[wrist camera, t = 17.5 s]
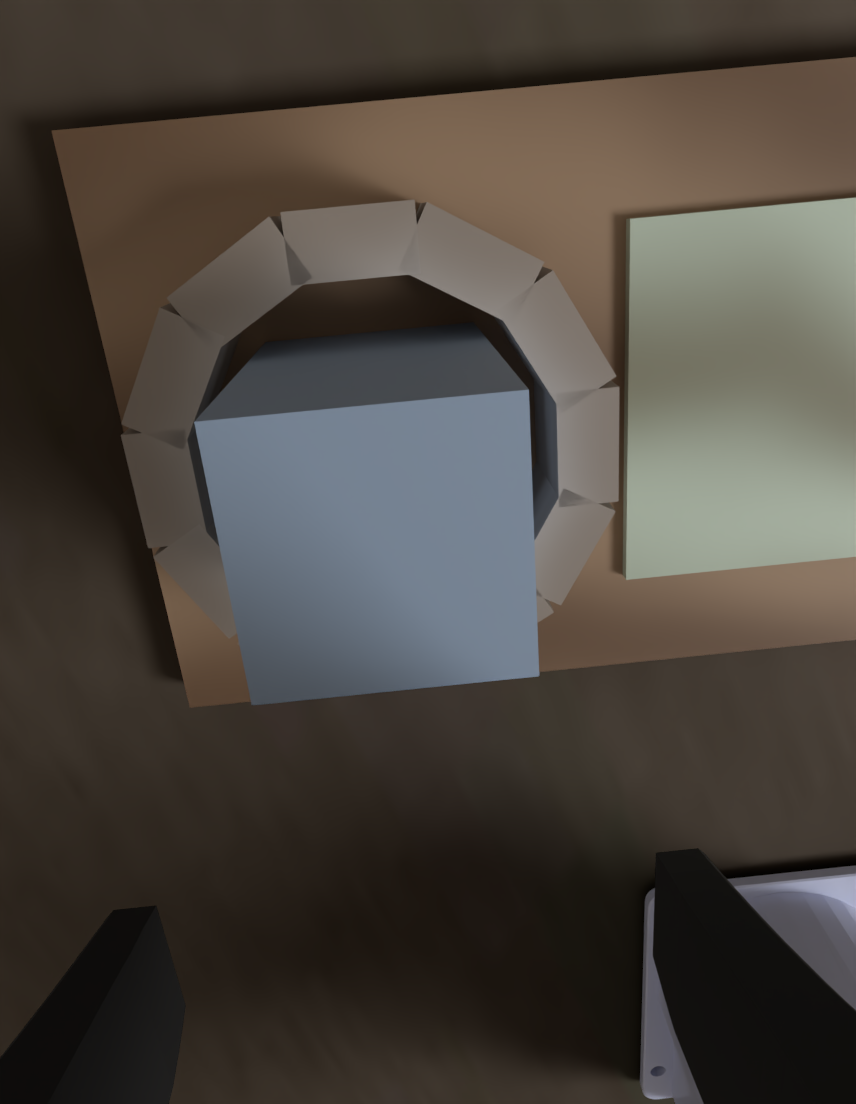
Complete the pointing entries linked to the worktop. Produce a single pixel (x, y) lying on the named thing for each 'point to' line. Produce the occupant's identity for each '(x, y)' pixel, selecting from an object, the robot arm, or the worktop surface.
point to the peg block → (375, 513)
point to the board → (509, 192)
